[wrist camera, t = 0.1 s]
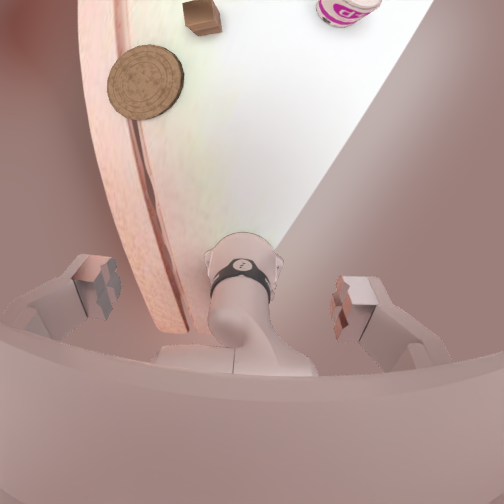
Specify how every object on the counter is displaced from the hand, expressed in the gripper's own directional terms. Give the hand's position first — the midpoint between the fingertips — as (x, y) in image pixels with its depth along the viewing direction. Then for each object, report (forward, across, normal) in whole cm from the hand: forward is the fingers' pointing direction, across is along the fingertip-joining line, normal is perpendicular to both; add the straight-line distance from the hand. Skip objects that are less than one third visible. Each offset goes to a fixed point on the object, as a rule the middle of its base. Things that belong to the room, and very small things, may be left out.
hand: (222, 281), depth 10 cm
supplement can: (+48, +14, +27) cm, 57 cm away
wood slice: (+48, -22, +9) cm, 54 cm away
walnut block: (+48, -10, +21) cm, 53 cm away
